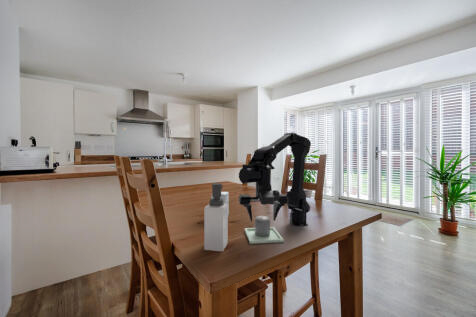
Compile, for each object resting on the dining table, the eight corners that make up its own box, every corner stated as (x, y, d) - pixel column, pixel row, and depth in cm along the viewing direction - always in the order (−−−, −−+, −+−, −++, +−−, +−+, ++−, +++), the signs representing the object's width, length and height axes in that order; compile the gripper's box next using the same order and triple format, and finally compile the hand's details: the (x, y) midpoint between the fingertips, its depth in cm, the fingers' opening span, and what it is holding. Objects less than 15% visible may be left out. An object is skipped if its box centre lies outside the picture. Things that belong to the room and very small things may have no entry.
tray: (273, 229, 91) (273, 227, 91) (283, 242, 78) (283, 239, 78) (244, 230, 89) (244, 228, 89) (249, 243, 77) (249, 240, 77)
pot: (268, 231, 88) (268, 215, 88) (271, 237, 82) (271, 220, 82) (253, 231, 87) (253, 215, 87) (256, 237, 81) (256, 220, 81)
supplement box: (225, 220, 102) (225, 194, 102) (210, 219, 104) (210, 193, 103) (229, 216, 109) (229, 191, 109) (215, 215, 111) (215, 191, 110)
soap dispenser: (228, 240, 79) (229, 181, 79) (222, 251, 71) (223, 185, 70) (212, 239, 80) (212, 181, 80) (204, 249, 72) (204, 184, 71)
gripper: (242, 184, 74) (242, 229, 74) (294, 184, 76) (293, 227, 76) (238, 180, 85) (238, 219, 85) (283, 180, 87) (283, 217, 87)
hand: (262, 220), depth 83 cm, fingers open, 9 cm apart
